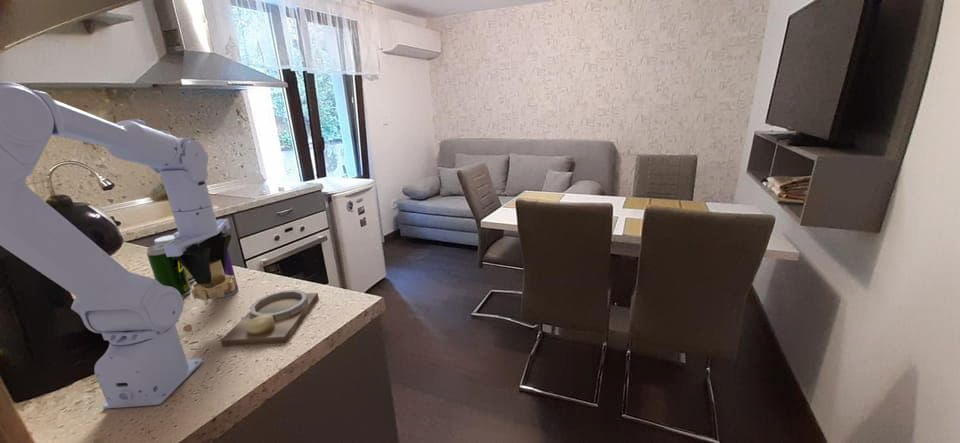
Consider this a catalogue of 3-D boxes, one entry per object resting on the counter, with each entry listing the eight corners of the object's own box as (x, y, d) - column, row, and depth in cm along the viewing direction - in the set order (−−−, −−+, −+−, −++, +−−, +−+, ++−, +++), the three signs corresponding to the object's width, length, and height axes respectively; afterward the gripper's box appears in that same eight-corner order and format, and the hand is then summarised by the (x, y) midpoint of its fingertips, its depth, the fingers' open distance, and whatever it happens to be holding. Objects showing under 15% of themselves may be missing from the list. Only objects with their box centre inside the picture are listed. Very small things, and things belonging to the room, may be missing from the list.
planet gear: (224, 299, 67) (215, 269, 65) (184, 301, 67) (175, 271, 65) (244, 282, 73) (237, 254, 72) (208, 284, 73) (200, 256, 71)
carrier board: (285, 342, 66) (282, 329, 65) (222, 346, 65) (218, 333, 64) (318, 297, 81) (316, 286, 80) (267, 300, 80) (264, 289, 79)
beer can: (160, 303, 81) (143, 253, 77) (162, 294, 85) (146, 245, 81) (191, 296, 84) (176, 246, 80) (191, 287, 88) (177, 240, 84)
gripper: (196, 198, 72) (214, 262, 76) (134, 221, 58) (160, 298, 62) (233, 196, 72) (249, 260, 76) (181, 218, 58) (204, 295, 62)
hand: (212, 277), depth 69 cm, fingers closed on planet gear, 4 cm apart
